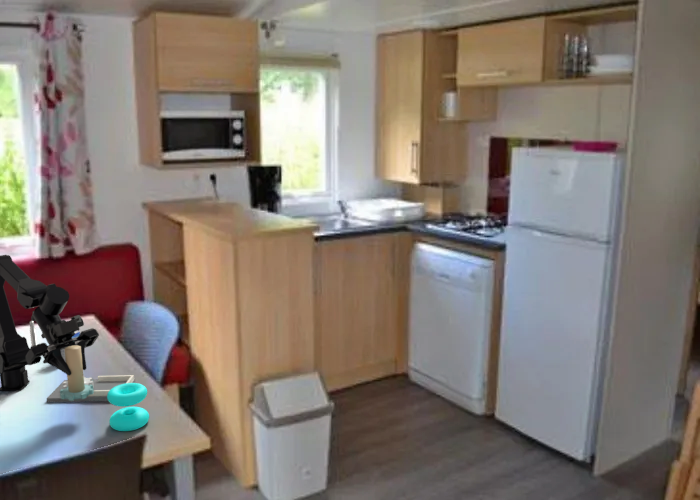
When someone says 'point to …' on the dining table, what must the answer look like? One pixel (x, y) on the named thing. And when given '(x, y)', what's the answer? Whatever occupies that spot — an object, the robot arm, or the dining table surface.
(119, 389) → the donuts
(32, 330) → the screw
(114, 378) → the carrier plate
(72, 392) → the gear
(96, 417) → the dining table surface
